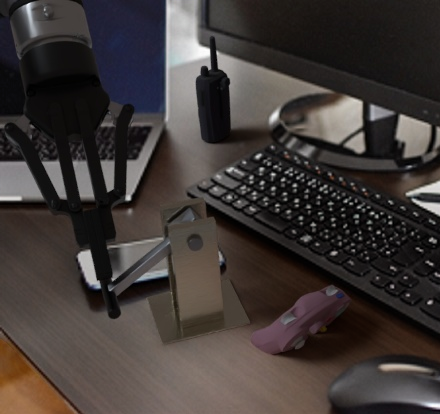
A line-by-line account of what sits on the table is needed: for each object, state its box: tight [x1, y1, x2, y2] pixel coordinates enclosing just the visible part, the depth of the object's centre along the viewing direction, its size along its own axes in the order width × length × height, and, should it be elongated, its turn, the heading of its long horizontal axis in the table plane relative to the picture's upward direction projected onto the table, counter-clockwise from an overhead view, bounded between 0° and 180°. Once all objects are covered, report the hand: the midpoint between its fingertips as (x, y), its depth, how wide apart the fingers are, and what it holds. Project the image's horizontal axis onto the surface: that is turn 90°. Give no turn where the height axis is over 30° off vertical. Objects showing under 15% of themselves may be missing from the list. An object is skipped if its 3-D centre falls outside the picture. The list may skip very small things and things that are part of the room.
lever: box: [98, 208, 201, 320], centre depth 81 cm, size 12×7×2 cm
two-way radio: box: [195, 35, 232, 144], centre depth 119 cm, size 6×4×15 cm
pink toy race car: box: [250, 284, 353, 355], centre depth 82 cm, size 10×5×7 cm, turn 136°
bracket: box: [146, 196, 251, 346], centre depth 83 cm, size 9×8×13 cm
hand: (104, 276), depth 80 cm, fingers closed
